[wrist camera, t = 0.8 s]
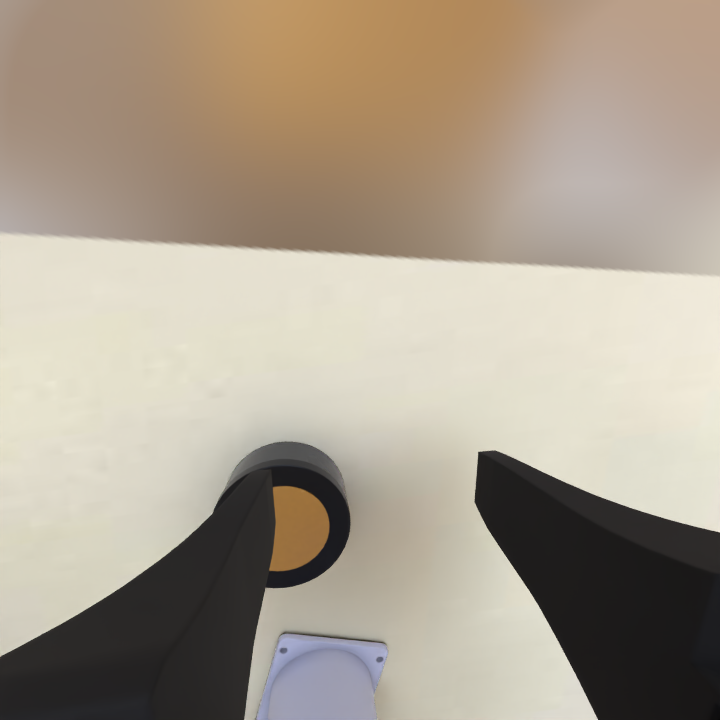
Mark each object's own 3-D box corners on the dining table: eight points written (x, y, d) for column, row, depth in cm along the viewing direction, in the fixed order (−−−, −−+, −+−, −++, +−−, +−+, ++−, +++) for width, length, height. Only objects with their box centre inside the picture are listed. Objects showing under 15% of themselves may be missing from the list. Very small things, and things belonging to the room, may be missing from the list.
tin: (328, 555, 23) (331, 597, 20) (213, 538, 21) (196, 580, 18) (358, 453, 22) (366, 480, 19) (240, 429, 20) (226, 453, 17)
